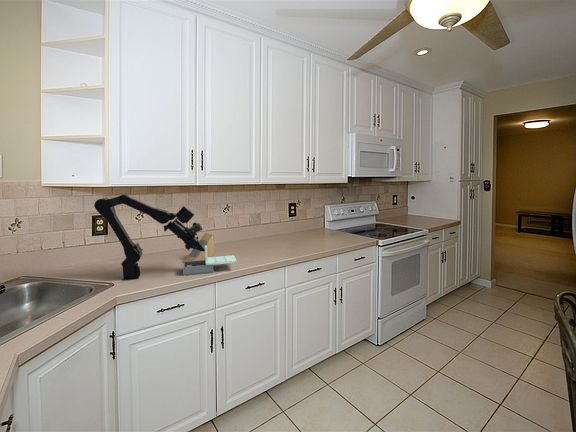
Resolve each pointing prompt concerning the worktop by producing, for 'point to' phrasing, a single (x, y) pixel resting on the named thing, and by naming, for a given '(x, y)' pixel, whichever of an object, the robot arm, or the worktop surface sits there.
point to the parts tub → (196, 267)
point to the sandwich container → (205, 241)
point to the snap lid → (219, 259)
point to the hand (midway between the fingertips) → (204, 250)
